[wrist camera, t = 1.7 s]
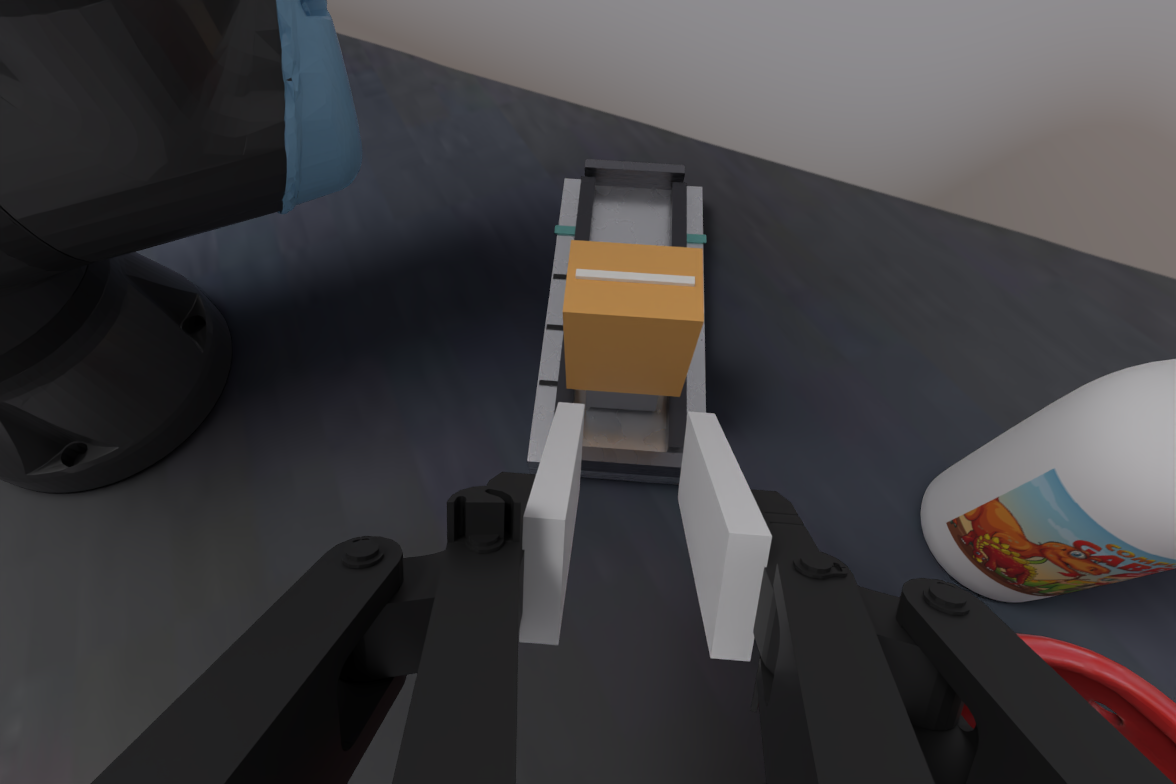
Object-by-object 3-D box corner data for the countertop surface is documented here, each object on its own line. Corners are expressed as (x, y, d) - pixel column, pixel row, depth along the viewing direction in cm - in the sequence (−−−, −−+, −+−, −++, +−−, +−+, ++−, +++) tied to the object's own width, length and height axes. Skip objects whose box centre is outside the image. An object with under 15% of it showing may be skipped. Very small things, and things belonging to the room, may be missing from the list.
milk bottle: (889, 488, 34) (1214, 264, 17) (1003, 453, 36) (1421, 207, 18) (964, 623, 31) (1471, 521, 13) (1087, 580, 32) (1708, 432, 14)
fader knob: (672, 420, 34) (705, 318, 25) (567, 413, 34) (562, 308, 25) (672, 360, 36) (703, 245, 27) (573, 353, 36) (571, 236, 27)
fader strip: (703, 491, 34) (716, 470, 31) (525, 477, 35) (520, 455, 31) (700, 204, 45) (709, 166, 42) (563, 195, 45) (561, 157, 42)
